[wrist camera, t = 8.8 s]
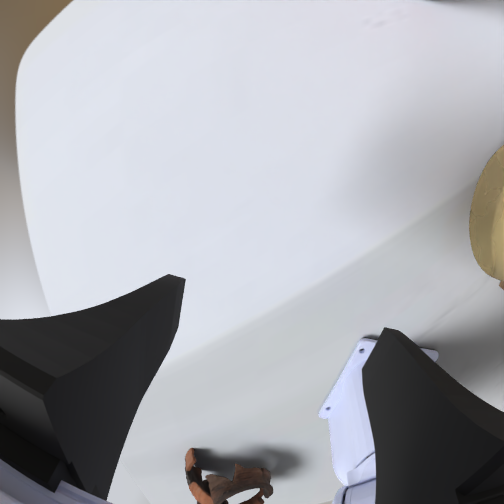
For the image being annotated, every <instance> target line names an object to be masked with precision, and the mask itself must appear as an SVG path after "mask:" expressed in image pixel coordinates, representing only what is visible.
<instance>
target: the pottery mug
mask: <svg viewBox="0 0 504 504" xmlns="http://www.w3.org/2000/svg"><path fill="white" fill-rule="evenodd" d="M185 461H186V467H185V471H186V475H187V476H186V479H187V483H188V485H189V489H190V491H191V492H192V494H193V496H194V497H195V499H196V500H197V504H228V501H227V500H226V499H228V498H229V497H231V496H233V495H235V494H237V493H240V492H243V491H245V490H249V489H254V488H260V491H259V492H258V493H257V494H256V495H255V496H253V497H252V498H251V499H249V500H247V501H244V502H242V503H240V504H264V501H263V499H262V498H261V497H262V496H263V495H264V496H265V498H269V496H271V495H272V494H273V487H272V486H271V485H270V479H271V476H270V472H269V471H268V470H266V469H265V468H255V467H253V468H244V467H242V466H241V465H239V464H235V473H234V477H233V481H230V480H229V479H228V478H226V477H222V476H217V475H214V474H210V475H206V480H204V481H202V476H201V473H202V470H201V469H200V468H197V467H195V466H193V465H194V464H195V462H196V458H195V456H194V449H193V448H190V449H189V451H188V452H187V454H186V457H185Z"/></svg>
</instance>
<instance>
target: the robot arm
mask: <svg viewBox="0 0 504 504" xmlns="http://www.w3.org/2000/svg"><path fill="white" fill-rule="evenodd" d="M185 280H186V279H184V278H181V277H177V276H174V275H170V274H168V275H165V276H163V277H161V278H159V279H157V280H155V281H153V282H151V283H149V284H147V285H145V286H143V287H141V288H139V289H137V290H135V291H133V292H131V293H128V294H126V295H123V296H121V297H119V298H116V299H114V300H111V301H109V302H106V303H104V304H101V305H98V306H95V307H91V308H88V309H84V310H81V311H77V312H72V313H67V314H61V315H56V316H51V317H43V318H34V319H19V320H1V319H0V504H112V503H110V502H107V501H106V500H107V497H108V493H109V489H110V486H111V483H112V479H113V476H114V473H115V469H116V467H117V463H118V460H119V457H120V454H121V451H122V449H123V446H124V443H125V440H126V438H127V435H128V432H129V429H130V427H131V424H132V422H133V419H134V417H135V414H136V412H137V409H138V407H139V404H140V402H141V400H142V398H143V396H144V394H145V392H146V391H147V389H148V387H149V385H150V383H151V382H152V380H153V378H154V376H155V375H156V373H157V371H158V369H159V367H160V366H161V364H162V362H163V360H164V358H165V357H166V355H167V353H168V351H169V349H170V347H171V344H172V342H173V339H174V337H175V334H176V332H177V329H178V326H179V319H180V312H181V305H182V299H183V293H184V286H185ZM362 348H364V349H363V350H360V349H362ZM438 357H439V354H438V352H437V351H435V350H429V349H423V348H419V347H418V346H417V345H416V344H415V343H414V342H413V341H411V340H410V339H409V338H408V337H407V336H406V335H404V334H403V333H402V332H400V331H399V330H395V329H390V328H385V327H384V329H383V331H382V333H381V335H380V337H379V339H378V340H373V339H368V338H364V339H361V340H360V341H359V342H358V344H357V346H356V348H355V350H354V352H353V354H352V355H351V357H350V359H349V361H348V363H347V365H346V366H345V368H344V370H343V372H342V374H341V375H340V377H339V379H338V381H337V383H336V384H335V386H334V388H333V389H332V391H331V393H330V394H329V396H328V398H327V400H326V401H325V403H324V404H323V406H322V408H321V409H320V411H319V417H320V418H325V419H328V422H329V431H330V441H331V451H332V462H333V468H334V472H335V474H336V476H337V477H338V479H339V480H340V481H341V482H342V483H343V484H344V485H345V486H344V487H342V488H340V489H339V490H338V491H337V493H336V495H335V498H334V500H333V502H332V504H504V412H502V411H500V410H498V409H497V408H495V407H493V406H491V405H490V404H488V403H486V402H485V401H483V400H482V399H480V398H479V397H477V396H476V395H474V394H473V393H471V392H470V391H469V390H467V389H466V388H465V387H463V386H462V385H461V384H459V383H458V382H457V381H456V380H455V379H453V378H452V377H451V376H450V375H449V374H448V373H446V372H445V371H444V370H443V369H442V368H441V367H440V366H439V365H437V364H436V363H435V362H436V361H437V359H438Z"/></svg>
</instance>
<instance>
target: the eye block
mask: <svg viewBox="0 0 504 504" xmlns="http://www.w3.org/2000/svg"><path fill="white" fill-rule="evenodd" d="M499 286H500V287H501V288H502V289H503V290H504V281H501V282H500V285H499Z"/></svg>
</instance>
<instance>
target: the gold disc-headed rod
mask: <svg viewBox="0 0 504 504" xmlns="http://www.w3.org/2000/svg"><path fill="white" fill-rule="evenodd" d="M469 231H470V241H471V247H472V251H473V254H474V256H475V259H476V261H477V263H478V264H479V266H480V267H481V269H482V270H483V271H484V272H485V273H487V274H488V275H489V276H491V277H493V278H496V279H498V280H501V281H504V145H503V146H502V147H501V148H500V149H498V150H497V151H496V153H495V154H494V155H493V156H492V157H491V159H490V160H489V161H488V163H487V165H486V166H485V168H484V170H483V172H482V174H481V176H480V178H479V181H478V183H477V186H476V189H475V192H474V196H473V200H472V204H471V211H470V221H469Z"/></svg>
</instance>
